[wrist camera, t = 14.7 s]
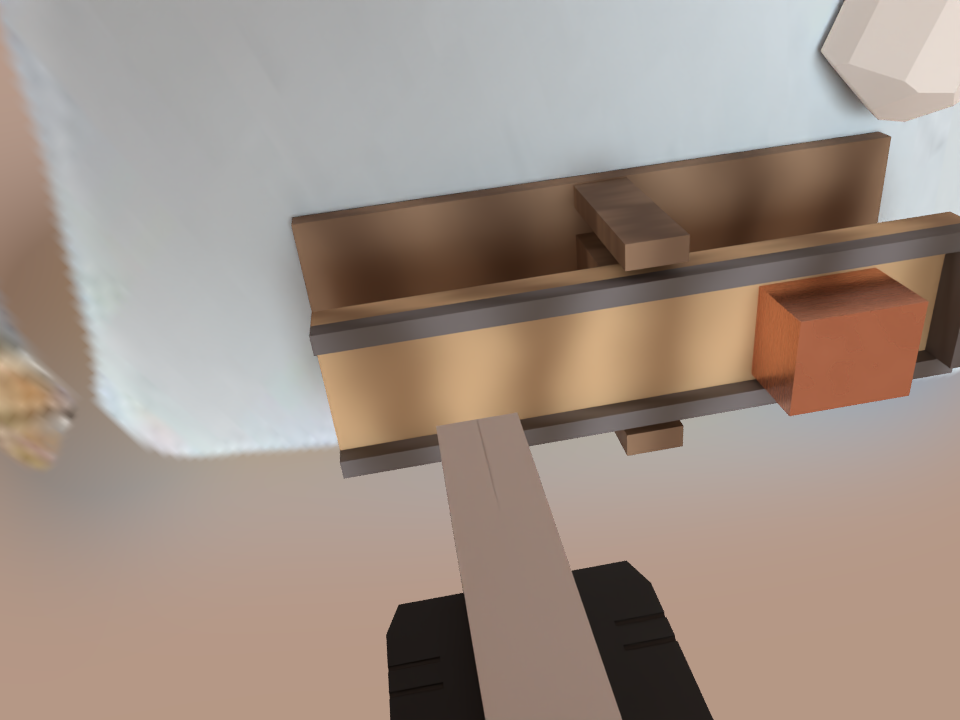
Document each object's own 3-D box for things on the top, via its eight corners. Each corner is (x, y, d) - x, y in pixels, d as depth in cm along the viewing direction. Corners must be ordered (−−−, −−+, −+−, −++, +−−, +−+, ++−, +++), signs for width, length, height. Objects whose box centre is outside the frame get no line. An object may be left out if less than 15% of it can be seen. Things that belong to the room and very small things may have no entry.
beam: (344, 448, 40) (343, 491, 37) (311, 312, 36) (308, 346, 33) (921, 350, 43) (964, 382, 40) (949, 211, 39) (1000, 235, 36)
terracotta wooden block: (751, 373, 40) (789, 416, 36) (759, 286, 37) (800, 322, 34) (861, 355, 40) (909, 395, 37) (875, 267, 38) (928, 301, 34)
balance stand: (335, 400, 48) (331, 508, 39) (292, 217, 42) (276, 296, 33) (850, 315, 51) (958, 399, 42) (878, 131, 45) (1012, 183, 36)
